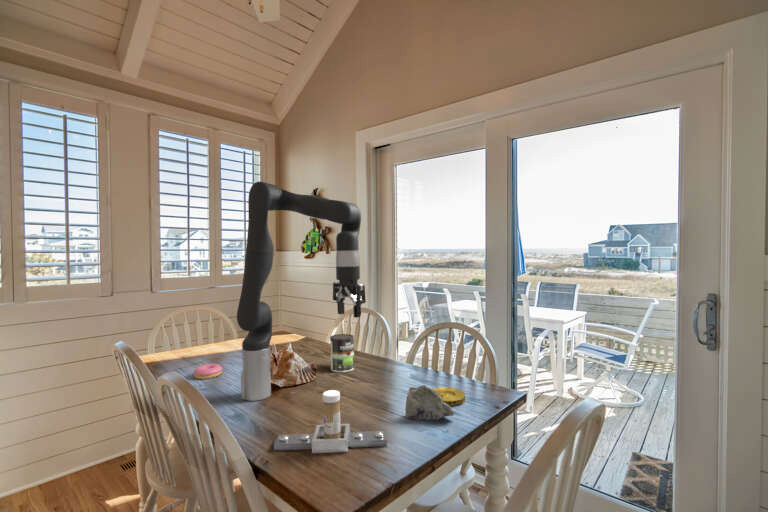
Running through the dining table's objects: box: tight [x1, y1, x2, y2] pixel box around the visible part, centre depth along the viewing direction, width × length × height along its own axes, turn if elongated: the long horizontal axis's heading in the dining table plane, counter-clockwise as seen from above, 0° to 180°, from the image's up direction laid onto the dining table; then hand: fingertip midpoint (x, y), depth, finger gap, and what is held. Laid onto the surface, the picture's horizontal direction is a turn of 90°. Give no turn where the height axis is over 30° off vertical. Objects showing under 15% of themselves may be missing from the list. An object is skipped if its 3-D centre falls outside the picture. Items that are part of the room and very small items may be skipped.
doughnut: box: [193, 363, 223, 380], centre depth 156 cm, size 11×11×4 cm
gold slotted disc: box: [431, 386, 466, 406], centre depth 126 cm, size 12×12×2 cm
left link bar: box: [273, 432, 315, 452], centre depth 98 cm, size 10×5×2 cm, turn 92°
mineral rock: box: [404, 384, 455, 421], centre depth 111 cm, size 13×11×10 cm
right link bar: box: [348, 430, 388, 448], centre depth 99 cm, size 10×5×2 cm, turn 92°
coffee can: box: [329, 333, 355, 373], centre depth 161 cm, size 10×10×14 cm
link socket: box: [311, 423, 351, 454], centre depth 98 cm, size 9×9×3 cm
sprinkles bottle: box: [322, 389, 341, 439], centre depth 98 cm, size 5×5×14 cm
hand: (349, 315), depth 119 cm, fingers open, 8 cm apart
